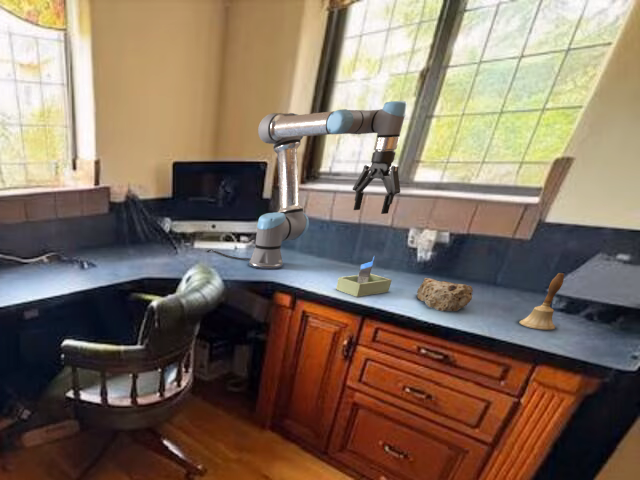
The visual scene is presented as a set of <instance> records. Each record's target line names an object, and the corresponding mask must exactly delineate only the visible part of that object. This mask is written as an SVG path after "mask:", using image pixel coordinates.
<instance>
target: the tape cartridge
mask: <svg viewBox="0 0 640 480" xmlns="http://www.w3.org/2000/svg"><path fill="white" fill-rule="evenodd" d="M375 256H376V255H375V254H374V255H373V257H372V260H371V261H368V262H365V263H362V264H360V267H359V271H358V274H357V275H358V279H357V283H360V284H361V283H368V280H369V276H370V274H371V272H372V268H373V265H374V262H375Z"/></svg>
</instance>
